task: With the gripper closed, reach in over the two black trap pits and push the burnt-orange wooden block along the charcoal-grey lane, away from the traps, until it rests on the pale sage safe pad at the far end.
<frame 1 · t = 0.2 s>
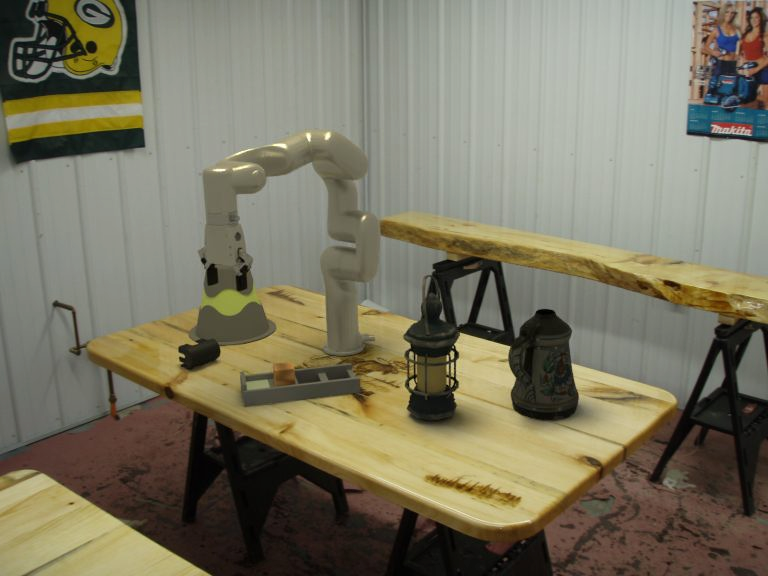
hand: (227, 287, 192), 31 cm above the table, tool pointing down, fingers open, 9 cm apart
grey bell cover: (232, 331, 253), on the table
beer stein: (542, 409, 193), on the table
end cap: (200, 365, 226), on the table
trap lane: (300, 391, 206), on the table
orange block: (284, 384, 204), point 2 cm above the table, touching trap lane
lantern: (431, 414, 191), on the table
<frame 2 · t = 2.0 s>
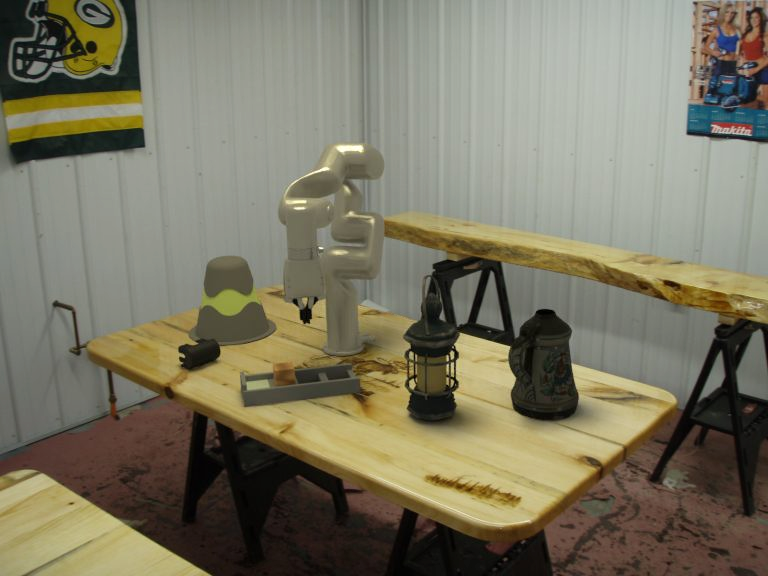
hand: (306, 322, 201), 19 cm above the table, tool pointing down, fingers closed
nothing on the table moved.
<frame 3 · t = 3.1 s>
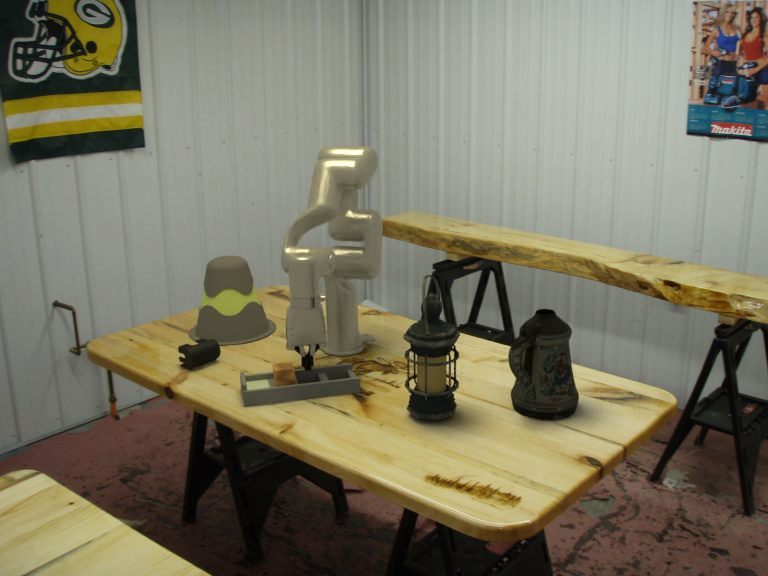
hand: (307, 369, 204), 6 cm above the table, tool pointing down, fingers closed
nothing on the table moved.
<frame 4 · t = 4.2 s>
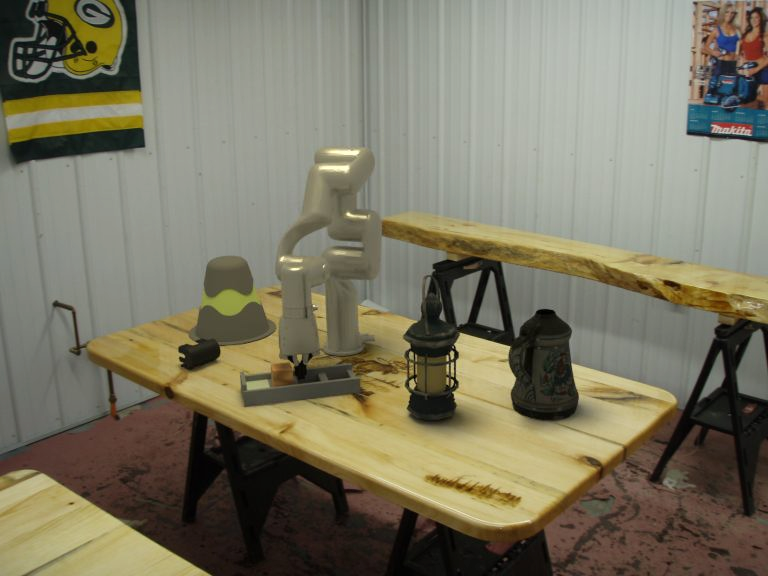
hand: (301, 377, 205), 4 cm above the table, tool pointing down, fingers closed
orange block: (282, 384, 204), point 3 cm above the table, touching gripper
everything else where it was.
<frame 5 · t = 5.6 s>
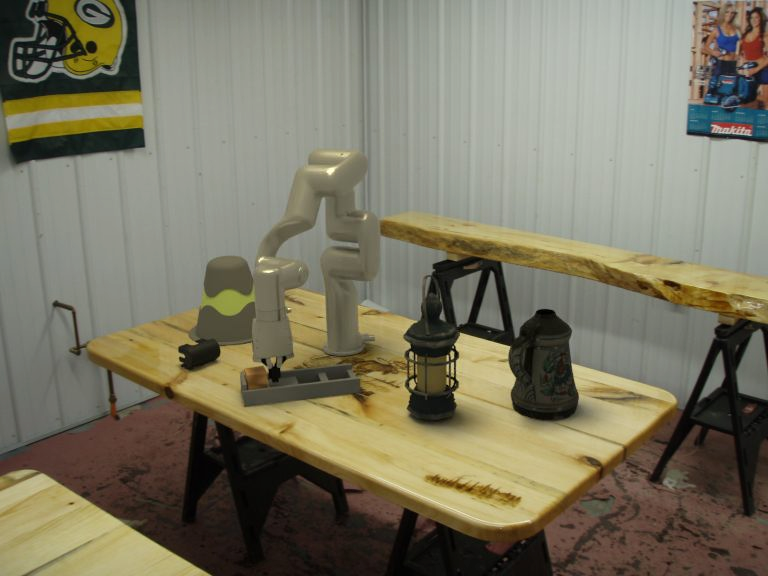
hand: (275, 380, 203), 4 cm above the table, tool pointing down, fingers closed
orange block: (256, 388, 202), point 2 cm above the table, touching gripper, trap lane
everything else where it was.
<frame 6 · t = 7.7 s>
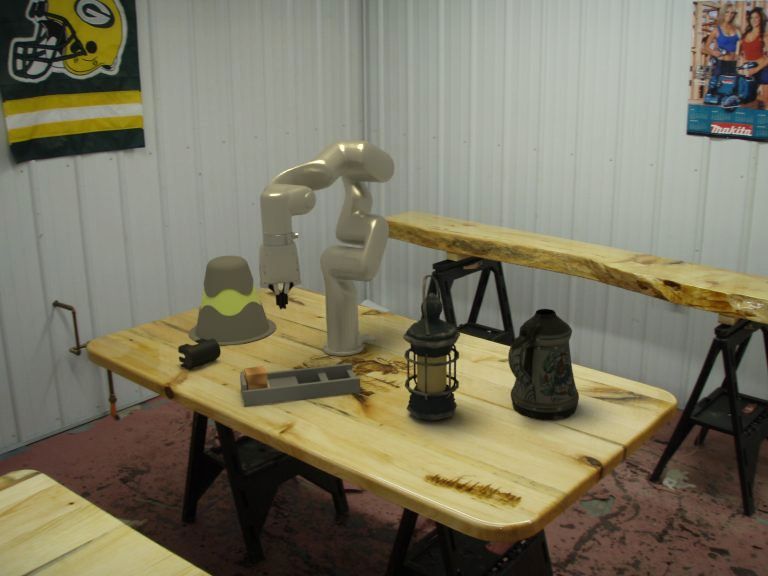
hand: (282, 307, 204), 22 cm above the table, tool pointing down, fingers closed
orange block: (256, 388, 202), point 2 cm above the table, touching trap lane
everything else where it was.
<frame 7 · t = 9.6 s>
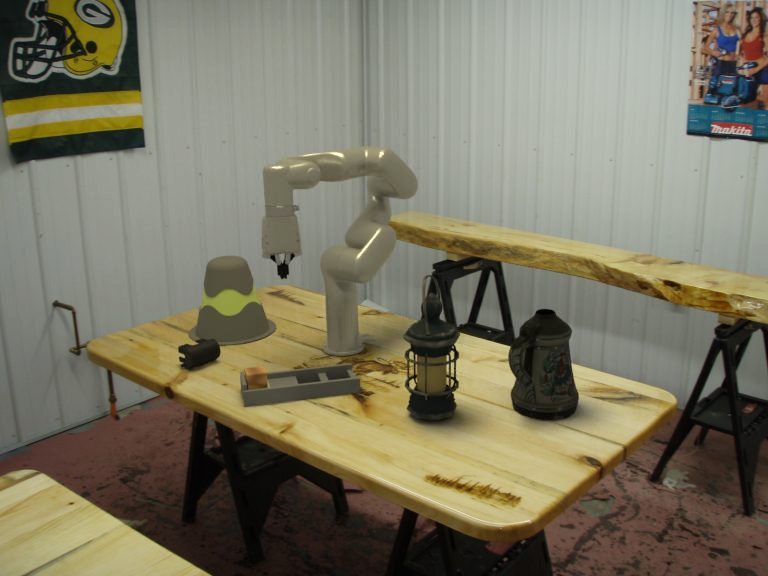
hand: (283, 277, 212), 27 cm above the table, tool pointing down, fingers closed
nothing on the table moved.
at the end: orange block 1.1 cm from the target spot on the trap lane, point 2.5 cm above the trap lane's base; orange block tilted 0°; orange block moved 7.3 cm from its start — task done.
